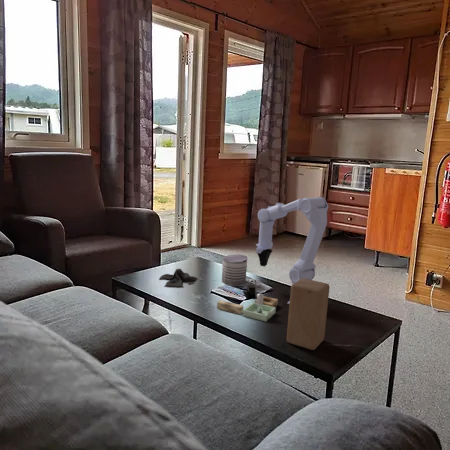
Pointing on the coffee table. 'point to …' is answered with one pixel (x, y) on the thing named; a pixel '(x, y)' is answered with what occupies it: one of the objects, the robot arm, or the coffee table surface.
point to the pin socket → (269, 301)
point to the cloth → (178, 279)
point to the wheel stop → (230, 307)
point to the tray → (266, 313)
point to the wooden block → (307, 313)
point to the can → (234, 270)
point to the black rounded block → (250, 292)
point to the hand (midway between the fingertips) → (263, 265)
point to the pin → (259, 303)
